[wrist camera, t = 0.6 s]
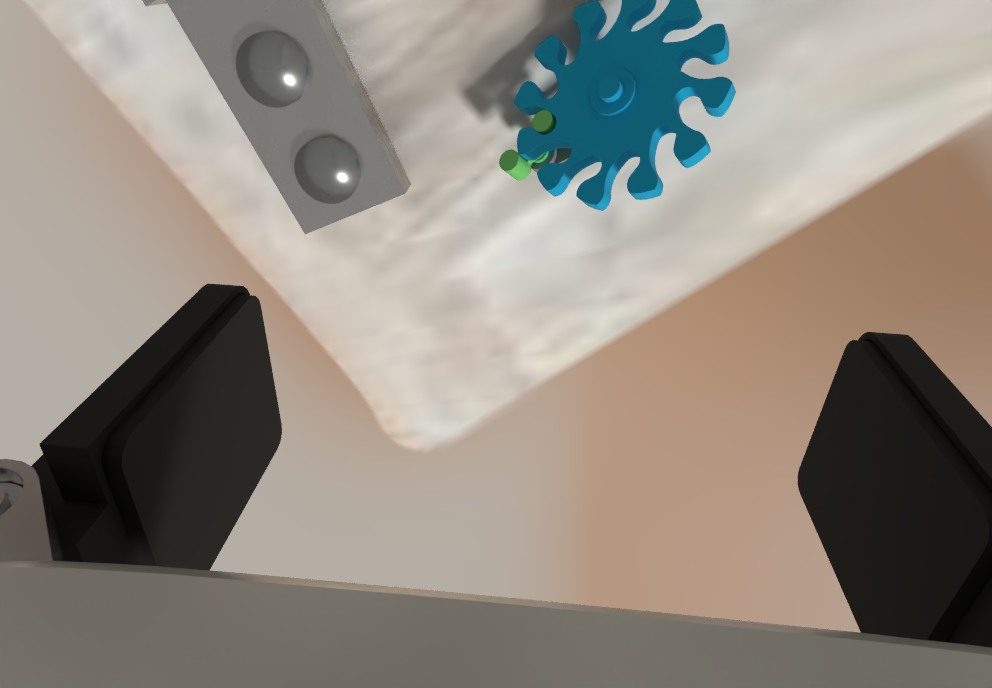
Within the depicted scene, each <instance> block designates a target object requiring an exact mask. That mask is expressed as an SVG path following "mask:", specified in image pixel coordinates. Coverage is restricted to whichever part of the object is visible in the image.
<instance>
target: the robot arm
mask: <svg viewBox="0 0 992 688" xmlns="http://www.w3.org/2000/svg"><path fill="white" fill-rule="evenodd" d="M281 435H282V427H281V419H280V414H279V407H278V402H277V396H276V390H275V385H274V379H273V373H272V367H271V362H270V356H269V350H268V344H267V339H266V333H265V327H264V322H263V316H262V310H261V305H260V301H259V299H258V298H257V297H256V296H250V294H249V292H248V290H247V289H246V288H245V287H244V286H233V285H220V284H207V285H205V286H204V287H202V288H201V289H200V290H199V291H198V292H197V293H196V294H195V295H194V296H193V297H192V298H191V299H190V300H189V301H188V302H187V303H186V304H185V305H183V306H182V307H181V308H180V309H179V310H178V311H177V312H176V313H175V314H174V315H173V316H172V317H171V318H170V319H169V320H168V321H167V322H166V323H165V324H164V325H163V326H162V327H161V328H160V329H159V330H157V331H156V332H155V333H154V334H153V335H152V336H151V337H150V338H149V339H148V340H147V341H146V342H145V343H144V344H143V345H142V346H141V347H140V348H139V349H138V350H137V351H136V352H135V353H134V354H133V355H131V356H130V357H129V358H128V359H127V360H126V361H125V362H124V363H123V364H122V365H121V366H120V367H119V368H118V369H117V370H116V371H115V372H114V373H113V374H112V375H111V376H110V377H109V378H108V379H106V380H105V382H103V383H102V384H101V385H100V386H99V387H98V388H97V389H96V390H95V391H94V392H93V393H92V394H91V395H90V396H89V397H88V398H87V399H86V400H85V401H84V402H83V403H82V404H80V405H79V406H78V407H77V408H76V409H75V410H74V411H73V412H72V413H71V414H70V415H69V416H68V417H67V418H66V419H65V420H64V421H63V422H62V423H61V424H60V425H59V426H58V427H57V428H56V429H55V430H53V431H52V432H51V434H49V435H48V437H46V438H45V439H44V440H43V441H42V442H41V443H40V447H41V449H42V451H43V455H42V456H41V457H40V458H39V459H38V460H37V461H36V462H35V463H34V464H33V465H32V466H30V465H28V464H26V463H24V462H22V461H16V460H9V459H0V688H992V427H991V426H990V425H989V424H988V422H987V421H986V420H985V419H984V418H983V417H982V416H981V415H980V414H979V412H978V411H977V410H976V409H975V408H974V407H973V406H972V405H971V404H970V402H969V401H968V400H967V399H966V398H965V397H964V396H963V395H962V394H961V392H960V391H959V390H958V389H957V388H956V387H955V386H954V385H953V383H952V382H951V381H950V380H949V379H948V378H947V377H946V376H945V374H944V373H943V372H942V371H941V370H940V369H939V368H938V367H937V366H936V364H935V363H934V362H933V361H932V360H931V359H930V358H929V357H928V355H927V354H926V353H925V352H924V351H923V350H922V349H921V348H920V346H919V345H918V344H917V343H916V342H915V341H914V340H913V339H912V338H911V337H910V336H908V335H901V334H888V333H875V332H867V333H864V334H863V335H862V336H861V337H860V338H859V340H858V341H857V340H852V341H850V342H849V343H848V344H847V346H846V348H845V350H844V353H843V356H842V358H841V361H840V363H839V366H838V369H837V371H836V374H835V376H834V379H833V382H832V384H831V387H830V390H829V392H828V395H827V397H826V400H825V403H824V405H823V408H822V411H821V413H820V416H819V418H818V421H817V424H816V426H815V429H814V432H813V434H812V437H811V439H810V442H809V445H808V447H807V450H806V453H805V455H804V458H803V461H802V463H801V466H800V468H799V472H798V487H799V491H800V494H801V496H802V499H803V501H804V503H805V505H806V508H807V510H808V513H809V515H810V517H811V519H812V522H813V524H814V526H815V529H816V531H817V533H818V535H819V538H820V540H821V542H822V544H823V547H824V549H825V551H826V554H827V556H828V558H829V561H830V563H831V565H832V567H833V569H834V572H835V574H836V577H837V579H838V581H839V583H840V586H841V588H842V590H843V592H844V595H845V597H846V599H847V602H848V603H849V606H850V608H851V611H852V613H853V615H854V618H855V620H856V622H857V624H858V626H859V629H860V631H861V633H857V632H847V631H838V630H828V629H818V628H809V627H799V626H789V625H779V624H769V623H759V622H748V621H740V620H730V619H720V618H710V617H700V616H690V615H681V614H670V613H661V612H650V611H639V610H630V609H620V608H609V607H599V606H587V605H578V604H568V603H557V602H548V601H537V600H525V599H516V598H506V597H495V596H485V595H474V594H463V593H453V592H442V591H432V590H421V589H410V588H399V587H388V586H376V585H366V584H355V583H343V582H333V581H322V580H311V579H300V578H289V577H277V576H267V575H255V574H243V573H233V572H221V571H209V570H210V569H211V567H212V565H213V563H214V561H215V559H216V558H217V556H218V554H219V552H220V551H221V549H222V547H223V545H224V543H225V542H226V540H227V538H228V536H229V535H230V533H231V531H232V529H233V527H234V526H235V524H236V522H237V520H238V518H239V517H240V515H241V513H242V511H243V509H244V508H245V506H246V504H247V502H248V500H249V499H250V497H251V495H252V493H253V491H254V490H255V488H256V486H257V484H258V483H259V481H260V479H261V477H262V475H263V474H264V472H265V470H266V468H267V467H268V465H269V463H270V461H271V459H272V458H273V456H274V454H275V452H276V450H277V448H278V446H279V444H280V440H281Z"/></svg>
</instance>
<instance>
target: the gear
mask: <svg viewBox="0 0 992 688" xmlns="http://www.w3.org/2000/svg"><path fill="white" fill-rule="evenodd" d="M655 5H656V0H622V6H621V11H620V14H619V17H618V19H617V21H616V22H615V24H614V25H613V27H612V28H611V30H610V31H609V32H608V34H607V35H606V36H605V37H604V38H602V39H601V40H597V41H595V39H596V36H597V35H598V33H599V32H600V31H601V29H602V28H603V27H604V25H605V23H606V19H607V16H606V13H605V11H604V9H603V8H602V6H601V5H600V3H599V1H591V2H588V3H585V4H583V5H580V6H578V7H576V9H575V11H574V21H575V22H576V24H577V25H578V28H579V31H580V45H579V50H578V54H577V57H576V59H575V60H574V61H573V62H572V63H571V64H569V65H565V61H566V56H567V50H566V48H565V46H564V45H563V44H562V43H561V41H560V40H559V39H558V37H556V36H555V35H552V36H550V37H548V38H547V39H546V40H544V41H543V42H542V43H541V44H540V45H539V46H538V48H537V49H536V50H535V56H536V58H537V59H538V61H539V62H540V63H541V64H542V65H543V66H544V67H545V68H546V69H548V70H551V71H553V72H555V75H556V77H557V80H558V84H559V88H558V91H557V93H556V94H555V96H553V97H552V98H550V99H546V98H545V95H544V93H543V92H542V91H541V90H540V89H539V88H538V86H537V85H536V84H535V83H533V82H531V81H526V82H524V84H523V85H522V86H521V88H520V90H519V92H518V94H517V96H516V99H515V102H514V103H515V105H516V106H517V107H518V108H519V109H520V110H521V111H522V112H523V113H525V114H526V115H534V114H536V115H535V116H534V118H533V121H532V126H533V128H534V129H533V128H530V127H526V128H523V129H521V130H520V131H519V133H518V138H517V148H518V153H517V152H516V151H514V150H507V151H505V152H504V153H503V154H502V156H501V157H500V161H499V164H500V167H501V168H502V169H503V170H504V171H505V172H507V173H508V174H509V175H511V176H512V177H514V178H515V179H516V180H524V179H525V178H527V177H528V176H529V174H530V172H531V168H532V169H533V170H534V171H535V172H537V175H538V178H539V181H540V182H541V184H542V185H543V187H544V188H545V189H546V190H547V191H548V192H549V193H551V194H552V195H553V196H558V195H560V194H562V193H563V192H564V191H565V190H566V188H567V186H568V184H569V183H570V181H571V180H572V179H573V177H574V176H575V175H576V174H577V173H579V172H580V171H581V170H582V169H584V168H586V167H588V166H590V165H592V164H594V163H596V162H602V167H601V170H600V171H599V173H598V174H597V175H595V176H594V177H592V178H590V179H588V180H586V181H584V182H583V183H582V184H581V185H580V186H579V188H578V190H577V195H576V196H577V197H578V198H579V199H580V200H582V201H583V202H584V203H585V204H586V205H588V206H590V207H592V208H594V209H598V210H602V211H603V210H605V209H606V208H607V206H608V205H609V203H610V200H611V189H612V184H613V181H614V179H615V177H616V175H617V173H618V172H619V171H620V169H621V168H622V167H623V165H624V164H625V163H626V162H627V161H628V160H629V159H630V158H632V157H640V163H639V165H638V167H637V168H636V169H635V171H634V172H633V173H632V174H631V176H630V177H629V179H628V183H627V188H628V191H629V193H630V194H631V195H632V196H633V197H634V198H635V199H639V200H644V199H650V198H654V197H657V196H660V195H661V193H662V191H663V183H662V181H661V179H660V178H659V176H658V174H657V171H656V167H655V154H656V149H657V145H658V142H659V140H660V138H661V137H662V136H664V135H665V134H667V133H676V139H675V144H674V153H675V156H676V157H677V159H678V160H679V161H680V163H681V164H682V165H683V166H684V167H686V168H689V167H691V166H694V165H695V164H697V163H698V162H700V161H701V160H702V159H703V158H705V157H706V156H707V155H708V154H709V153H710V152H711V151H710V146H709V144H708V142H707V140H706V138H705V137H704V135H703V134H702V133H700V132H698V131H695V130H693V129H691V128H689V127H687V126H686V125H685V124H684V123H683V122H682V120H681V117H680V114H679V107H680V104H681V103H682V101H683V100H685V99H686V98H688V97H690V96H697V97H699V98H700V99H701V101H702V103H703V105H704V107H705V109H706V111H707V112H708V113H709V114H710V115H711V116H714V117H721V116H723V115H724V114H725V113H726V111H727V110H728V108H729V107H730V105H731V103H732V101H733V98H734V95H735V93H736V91H735V88H734V86H733V83H732V82H731V81H730V80H729V79H728V78H725V77H716V78H712V79H697V78H693V77H690V76H688V75H686V74H685V73H683V72H681V68H682V66H683V64H684V63H685V62H686V61H687V60H689V59H692V58H700V59H702V60H703V61H705V62H707V63H709V64H712V65H717V64H721V63H723V62H725V61H726V60H727V59H728V56H729V41H728V36H727V33H726V30H725V27H724V25H723V24H714V25H711V26H709V27H708V28H706V29H705V30H704V31H703V32H701V33H700V34H698V35H696V36H695V37H692V38H690V39H688V40H684V41H680V42H669V43H664V42H663V39H664V37H665V36H666V35H667V34H668V33H669V32H671V31H673V30H679V29H689V28H691V27H693V26H695V25H696V24H697V23H698V22H699V21H700V20H701V18H702V15H701V12H700V9H699V7H698V4H697V2H696V0H670V2H669V4H668V6H667V7H666V8H665V10H664V11H663V12H662V13H661V15H660V16H659V17H658V18H656V19H655V20H654V21H653V22H651V23H650V24H648V25H647V26H645V27H643V28H642V29H640V30H638V31H635V32H631V29H632V27H633V26H634V25H635V23H637V22H638V21H640V20H641V19H643V18H645V17H647V16H648V15H649V14H650V13H651V12H652V11H653V10H654V8H655Z"/></svg>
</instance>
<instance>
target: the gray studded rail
mask: <svg viewBox="0 0 992 688" xmlns="http://www.w3.org/2000/svg"><path fill="white" fill-rule="evenodd" d="M143 2H144V4H145V5H146V6H151V5H158V4H165V3H168V5H169V7H170V8H171V10H172V12H173V13H174V15H175V17H176V18H177V20H178V22H179V23H180V25H181V27H182V28H183V30H184V32H185V33H186V35H187V37H188V38H189V40H190V42H191V43H192V45H193V47H194V48H195V50H196V52H197V53H198V55H199V57H200V59H201V60H202V62H203V64H204V65H205V67H206V69H207V70H208V72H209V74H210V75H211V77H212V79H213V80H214V82H215V84H216V85H217V87H218V89H219V90H220V92H221V94H222V95H223V97H224V99H225V100H226V102H227V104H228V106H229V107H230V109H231V111H232V112H233V114H234V116H235V117H236V119H237V121H238V122H239V124H240V126H241V127H242V129H243V131H244V132H245V134H246V136H247V137H248V139H249V141H250V142H251V144H252V146H253V147H254V149H255V151H256V153H257V154H258V156H259V158H260V159H261V161H262V163H263V164H264V166H265V168H266V169H267V171H268V173H269V174H270V176H271V178H272V179H273V181H274V183H275V184H276V186H277V188H278V189H279V191H280V193H281V194H282V196H283V198H284V200H285V201H286V203H287V205H288V206H289V208H290V210H291V211H292V213H293V215H294V216H295V218H296V220H297V221H298V223H299V225H300V226H301V228H302V230H303V231H304V233H305V234H307V233H309V232H312V231H314V230H317V229H319V228H322V227H324V226H327V225H329V224H331V223H334V222H336V221H339V220H341V219H344V218H346V217H349V216H351V215H354V214H356V213H358V212H361V211H363V210H366V209H368V208H371V207H373V206H376V205H378V204H381V203H383V202H386V201H388V200H390V199H393V198H395V197H398V196H400V195H403V194H405V193H406V192H407V190H408V188H409V187H410V185H411V183H410V181H409V179H408V177H407V175H406V173H405V171H404V169H403V167H402V165H401V163H400V161H399V159H398V157H397V155H396V153H395V151H394V149H393V147H392V144H391V142H390V140H389V138H388V136H387V134H386V132H385V130H384V128H383V126H382V124H381V122H380V120H379V118H378V116H377V114H376V112H375V110H374V108H373V106H372V104H371V102H370V100H369V98H368V96H367V94H366V92H365V90H364V88H363V86H362V84H361V82H360V79H359V77H358V75H357V73H356V71H355V69H354V67H353V65H352V63H351V61H350V59H349V57H348V55H347V53H346V51H345V49H344V47H343V45H342V43H341V41H340V39H339V37H338V35H337V33H336V31H335V29H334V27H333V25H332V23H331V21H330V19H329V17H328V14H327V12H326V10H325V8H324V6H323V4H322V2H321V0H143Z"/></svg>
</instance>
